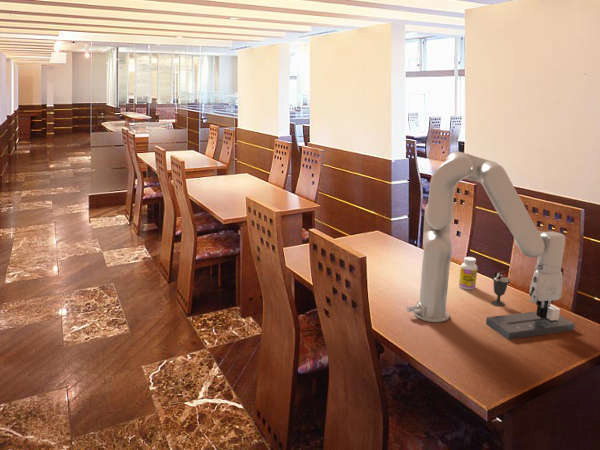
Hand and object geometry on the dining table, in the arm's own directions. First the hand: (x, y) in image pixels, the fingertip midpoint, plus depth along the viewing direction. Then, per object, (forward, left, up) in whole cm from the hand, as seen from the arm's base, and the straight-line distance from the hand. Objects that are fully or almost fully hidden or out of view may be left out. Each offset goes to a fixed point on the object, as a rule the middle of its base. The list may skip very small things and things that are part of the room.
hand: (541, 316), depth 174 cm
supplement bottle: (-4, +38, -4) cm, 39 cm away
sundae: (-2, +20, -4) cm, 21 cm away
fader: (+4, 0, -1) cm, 4 cm away
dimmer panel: (-4, 0, -4) cm, 6 cm away
